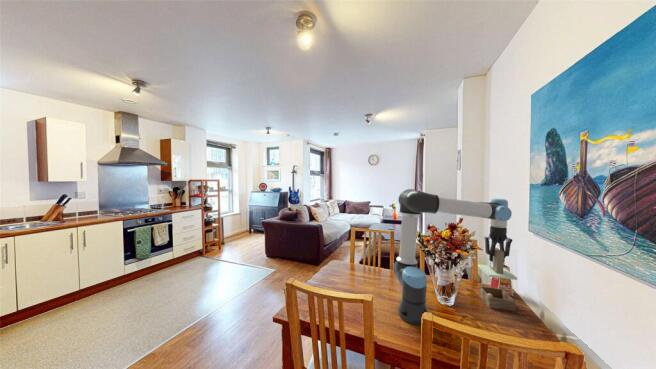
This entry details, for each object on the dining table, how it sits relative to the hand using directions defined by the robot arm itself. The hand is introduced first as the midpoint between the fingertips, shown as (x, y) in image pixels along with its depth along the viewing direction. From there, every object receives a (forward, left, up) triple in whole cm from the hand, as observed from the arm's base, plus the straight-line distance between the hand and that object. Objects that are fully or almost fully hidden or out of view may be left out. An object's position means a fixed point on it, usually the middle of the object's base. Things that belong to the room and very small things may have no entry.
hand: (496, 267), depth 129 cm
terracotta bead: (+3, +2, -20) cm, 20 cm away
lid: (0, 0, -3) cm, 3 cm away
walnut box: (0, 0, -21) cm, 21 cm away
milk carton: (+15, -9, -21) cm, 28 cm away
